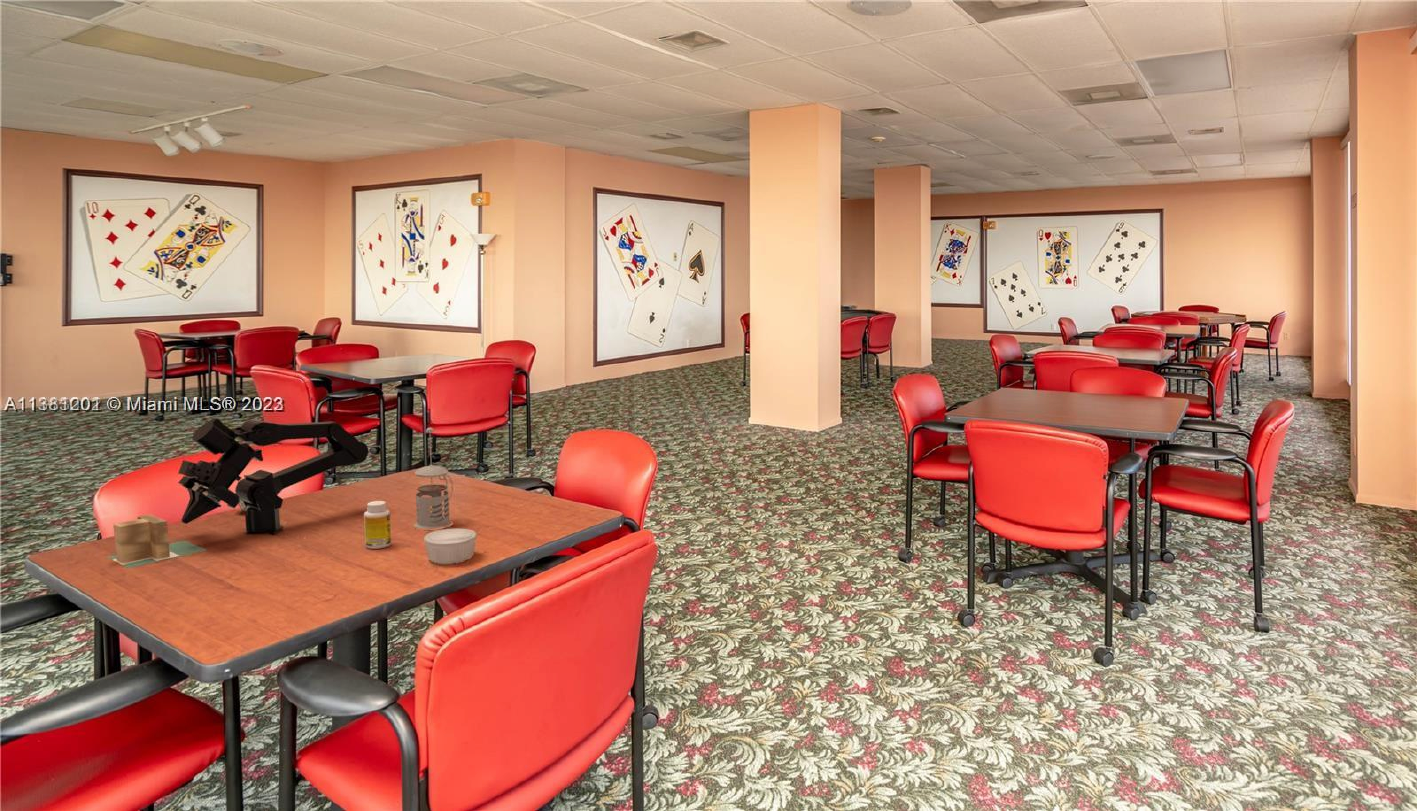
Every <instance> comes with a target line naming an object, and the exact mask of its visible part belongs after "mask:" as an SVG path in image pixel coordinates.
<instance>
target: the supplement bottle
mask: <svg viewBox="0 0 1417 811" xmlns="http://www.w3.org/2000/svg"><path fill="white" fill-rule="evenodd" d="M386 503H387V502H386V501H384V500H383V501H382V500H375V501H374V500H373V501H370V502H368V503H367V504H366V506H367V509H366V511H364V513H363V526H364V527H363V528H364V542H365V547H366V548H367V549H375V550H378V549H384V548H387V547H389V546H390V545H391V543H392V534H391V532H392V531H391V514H390V513H391V512H390V510H389V509H387V505H386Z"/></svg>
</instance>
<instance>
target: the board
mask: <svg viewBox="0 0 1417 811" xmlns="http://www.w3.org/2000/svg"><path fill="white" fill-rule="evenodd" d="M169 550H170V557H165V558H161V559H155V558H153V557H149V558H145V559H140V560H136V561H131V562H127V563H121V562H120V561H118V560H117V557H116V554H114V555H113V554H112V555H108V556H107V559H110V560H111V561H114V562H116V563H117V564H120V565H121V566H122V567H125V568H127V569H130V568H135V567H140V566H143V565H149V564H152V563H157V562H161V561H165V560H171V559H175V558H178V557H183V556H188V555H193V554H196V553H200V552H201V553H202V552H206V551H207V549H205V548H203V547H201V546H199V545H197V544H194V543H192V542H190V541H187V540H183V539H182V540H179V541H174V542H169Z"/></svg>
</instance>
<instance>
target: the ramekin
mask: <svg viewBox="0 0 1417 811" xmlns="http://www.w3.org/2000/svg"><path fill="white" fill-rule="evenodd" d="M423 537H424V539H423V541H424V544H425V547H426V548H425V549H426V554H427V557H428V559H429V561H431V562H432V563H433V562H434V564H436V563H438V564H437V565H454V564H453V563H456V564H459V563H458V562H461V563H463V562H462V561H465V560H467V559H469V558H471V559H472V557H473V556H474V554H475V550H476V549H475V548H476V540H477V539H478V538H477V533H476V531H474V530H471V529H468V528H467V529H466V528H446V529H441V530H434V531H432V532H430V533H427V534H426V535H425V536H423ZM469 560H470V559H469ZM467 561H468V560H467ZM465 562H466V561H465Z"/></svg>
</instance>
